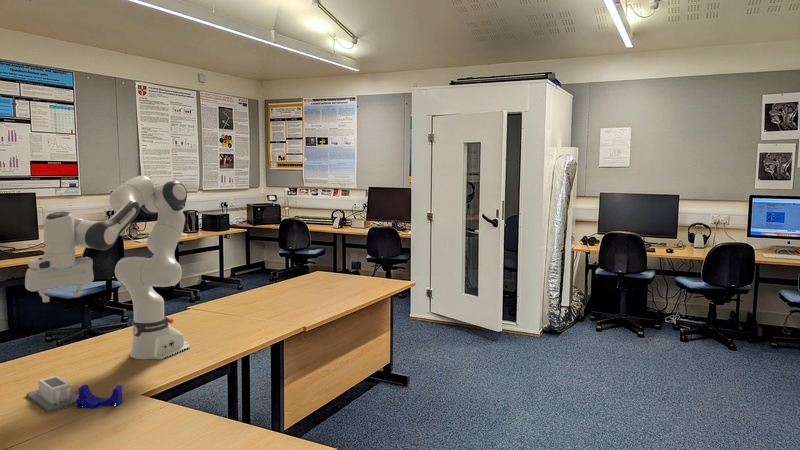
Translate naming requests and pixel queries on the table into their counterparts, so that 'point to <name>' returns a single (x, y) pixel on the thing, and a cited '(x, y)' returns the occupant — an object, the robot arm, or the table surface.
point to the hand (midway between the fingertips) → (61, 299)
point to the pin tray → (50, 406)
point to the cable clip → (92, 401)
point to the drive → (53, 388)
